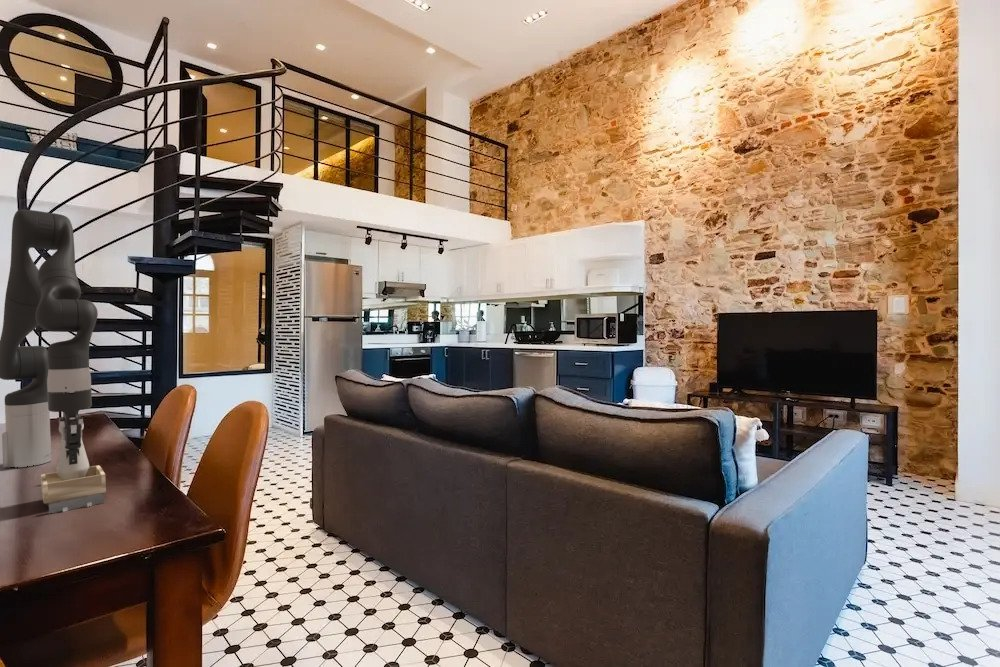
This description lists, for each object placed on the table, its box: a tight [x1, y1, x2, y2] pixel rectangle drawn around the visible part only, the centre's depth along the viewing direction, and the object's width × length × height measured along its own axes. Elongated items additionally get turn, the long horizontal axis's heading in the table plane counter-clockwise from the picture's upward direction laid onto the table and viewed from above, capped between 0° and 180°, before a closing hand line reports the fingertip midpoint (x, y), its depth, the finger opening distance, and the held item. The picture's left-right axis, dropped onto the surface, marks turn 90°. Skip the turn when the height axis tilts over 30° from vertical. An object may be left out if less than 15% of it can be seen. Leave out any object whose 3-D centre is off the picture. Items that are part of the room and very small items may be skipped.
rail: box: [48, 492, 104, 515], centre depth 119 cm, size 28×9×2 cm, turn 44°
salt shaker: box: [55, 423, 90, 481], centre depth 115 cm, size 6×6×13 cm
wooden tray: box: [40, 464, 107, 507], centre depth 115 cm, size 10×10×5 cm
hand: (72, 464), depth 115 cm, fingers closed on salt shaker, 3 cm apart
